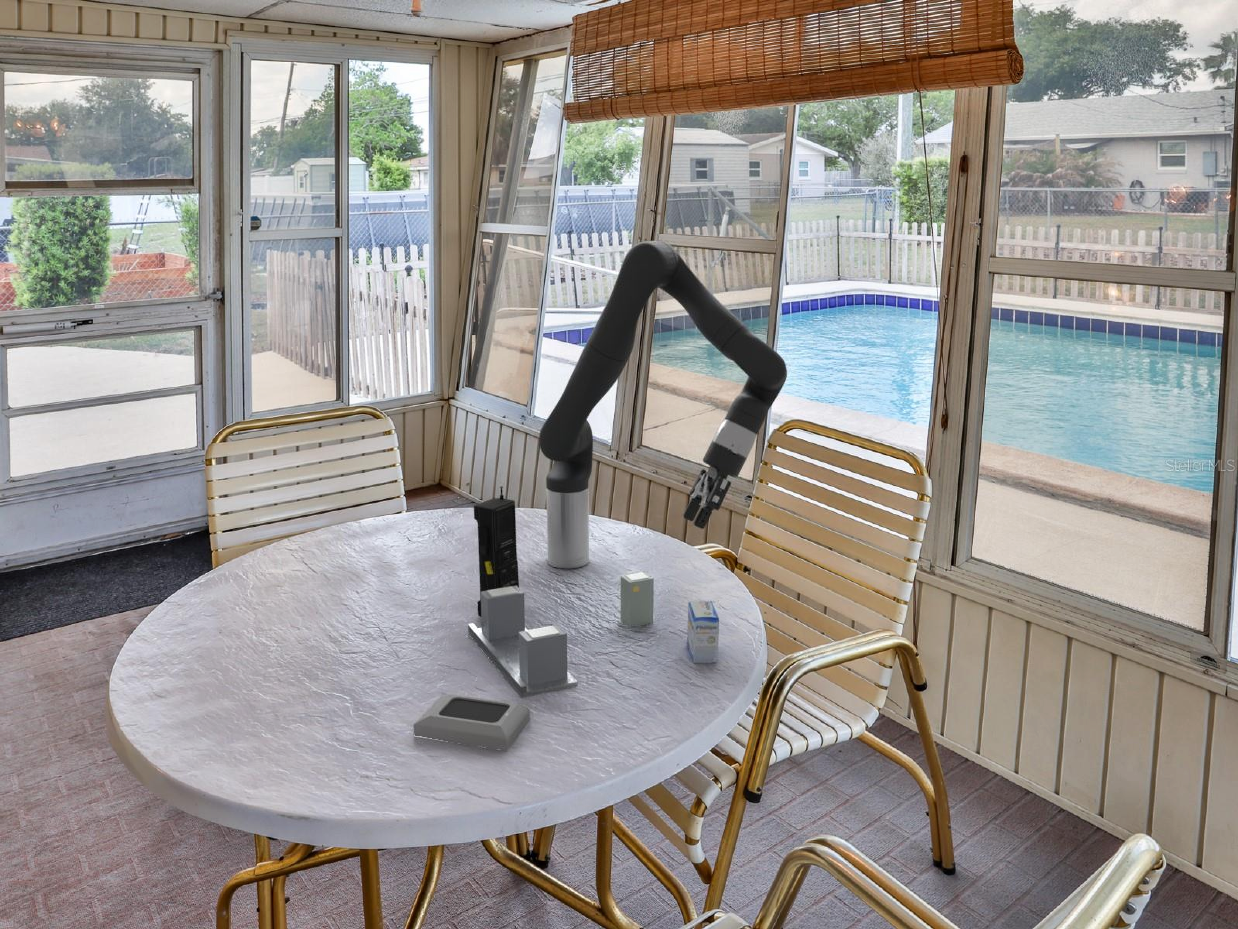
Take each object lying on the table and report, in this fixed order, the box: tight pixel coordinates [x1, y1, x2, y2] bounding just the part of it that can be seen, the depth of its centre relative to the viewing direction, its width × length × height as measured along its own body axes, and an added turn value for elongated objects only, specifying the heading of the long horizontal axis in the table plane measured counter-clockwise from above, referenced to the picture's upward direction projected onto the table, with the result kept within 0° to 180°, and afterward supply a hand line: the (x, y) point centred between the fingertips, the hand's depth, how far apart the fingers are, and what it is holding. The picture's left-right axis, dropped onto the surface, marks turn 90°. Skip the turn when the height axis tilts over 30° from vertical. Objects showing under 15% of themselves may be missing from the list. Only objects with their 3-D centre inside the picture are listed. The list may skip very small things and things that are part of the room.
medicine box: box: [686, 600, 720, 664], centre depth 182 cm, size 8×4×9 cm, turn 5°
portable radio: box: [473, 486, 520, 618], centre depth 197 cm, size 8×6×25 cm
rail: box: [467, 622, 579, 699], centre depth 181 cm, size 28×10×2 cm, turn 26°
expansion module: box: [620, 571, 655, 628], centre depth 196 cm, size 4×5×9 cm
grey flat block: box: [413, 694, 531, 752], centre depth 157 cm, size 10×4×15 cm
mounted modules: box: [480, 586, 568, 686], centre depth 180 cm, size 24×7×8 cm, turn 26°
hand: (692, 523), depth 199 cm, fingers open, 8 cm apart
